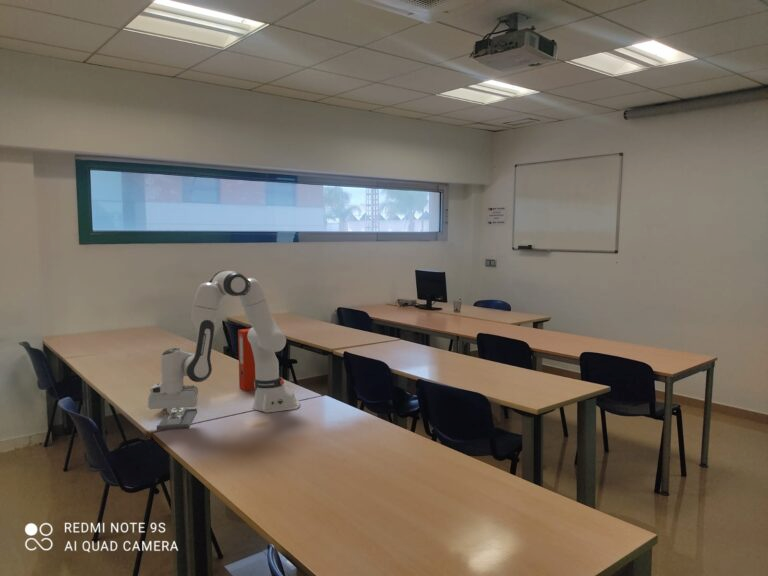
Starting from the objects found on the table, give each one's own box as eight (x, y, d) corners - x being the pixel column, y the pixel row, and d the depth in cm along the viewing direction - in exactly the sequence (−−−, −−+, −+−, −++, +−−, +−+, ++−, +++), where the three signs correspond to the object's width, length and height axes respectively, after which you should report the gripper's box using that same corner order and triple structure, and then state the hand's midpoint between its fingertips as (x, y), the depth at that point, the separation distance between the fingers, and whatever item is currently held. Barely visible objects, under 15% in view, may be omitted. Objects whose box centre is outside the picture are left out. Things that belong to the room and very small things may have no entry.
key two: (184, 412, 242) (184, 407, 241) (182, 416, 237) (182, 410, 237) (172, 413, 241) (172, 407, 241) (170, 417, 236) (170, 411, 236)
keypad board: (196, 412, 250) (196, 408, 250) (188, 428, 230) (188, 424, 230) (167, 413, 248) (167, 409, 248) (156, 430, 228) (156, 426, 228)
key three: (181, 420, 235) (181, 415, 235) (179, 424, 230) (179, 419, 230) (169, 421, 234) (169, 415, 234) (167, 425, 229) (166, 419, 229)
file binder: (275, 385, 293) (273, 328, 290) (244, 391, 283) (243, 331, 280) (269, 382, 300) (267, 326, 297) (239, 387, 290) (237, 329, 287)
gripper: (199, 383, 235) (200, 413, 237) (149, 385, 232) (151, 416, 233) (196, 387, 229) (197, 418, 230) (146, 389, 226) (147, 421, 227)
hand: (173, 417), depth 232 cm, fingers closed, pressing on key three
